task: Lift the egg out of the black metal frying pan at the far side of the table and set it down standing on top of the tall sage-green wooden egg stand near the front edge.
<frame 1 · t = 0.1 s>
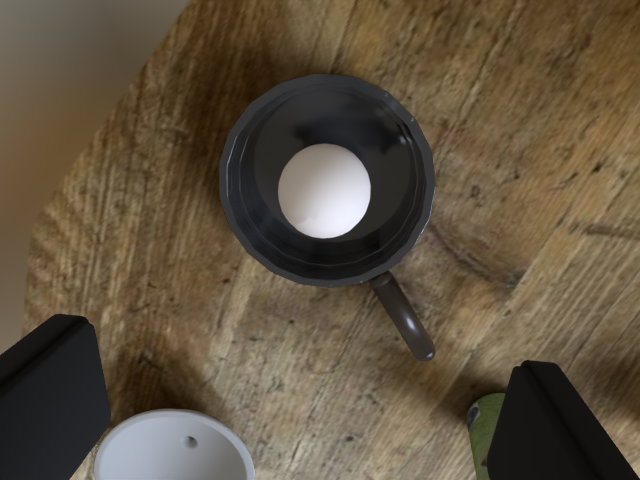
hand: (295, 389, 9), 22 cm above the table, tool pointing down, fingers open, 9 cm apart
pan: (328, 178, 29), on the table
egg: (328, 178, 29), resting on pan
dish: (194, 432, 41), on the table
beverage can: (491, 407, 36), on the table
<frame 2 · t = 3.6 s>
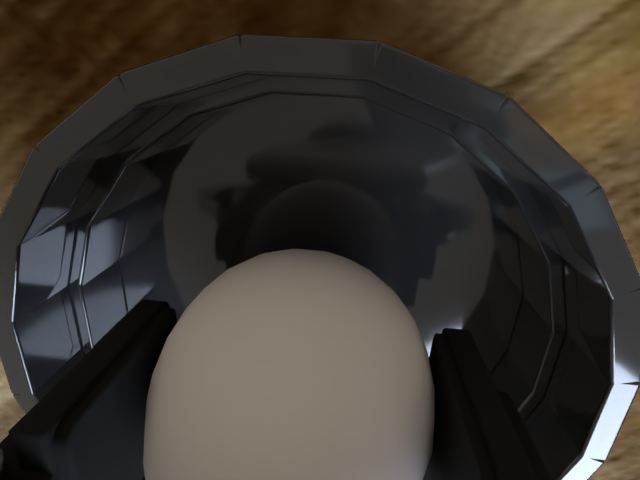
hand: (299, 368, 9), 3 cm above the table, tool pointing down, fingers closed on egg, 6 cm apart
pan: (314, 299, 12), on the table
egg: (313, 301, 12), resting on pan, touching gripper
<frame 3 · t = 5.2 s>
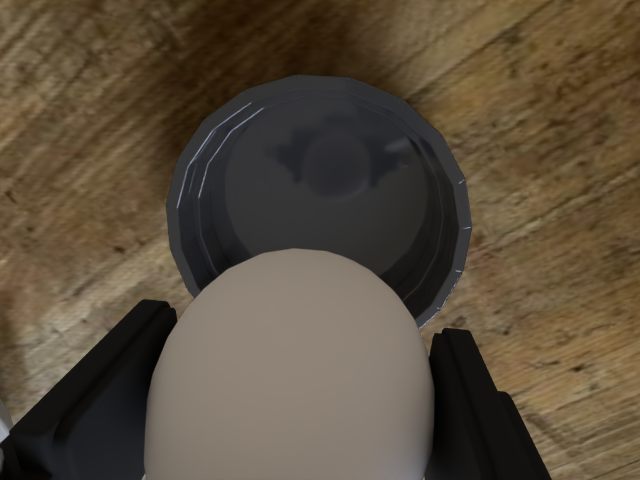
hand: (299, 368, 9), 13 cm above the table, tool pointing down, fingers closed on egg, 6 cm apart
pan: (320, 214, 22), on the table
egg: (313, 300, 12), point 10 cm above the table, touching gripper
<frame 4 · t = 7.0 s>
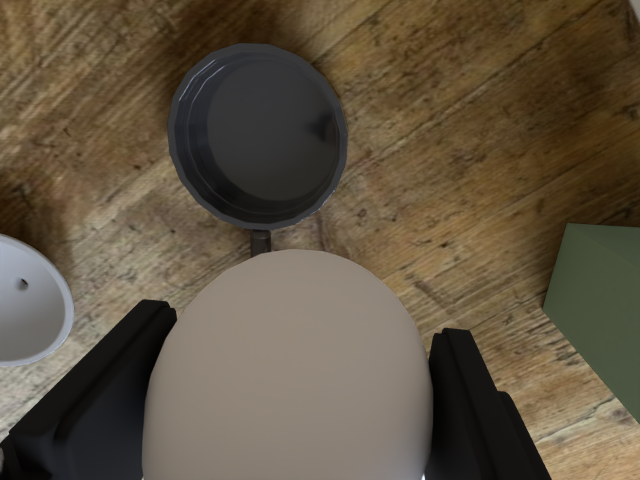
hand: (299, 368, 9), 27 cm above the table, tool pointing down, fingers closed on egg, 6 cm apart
pan: (266, 138, 34), on the table
egg: (312, 301, 12), point 24 cm above the table, touching gripper
stand: (603, 271, 36), on the table
dish: (29, 278, 42), on the table
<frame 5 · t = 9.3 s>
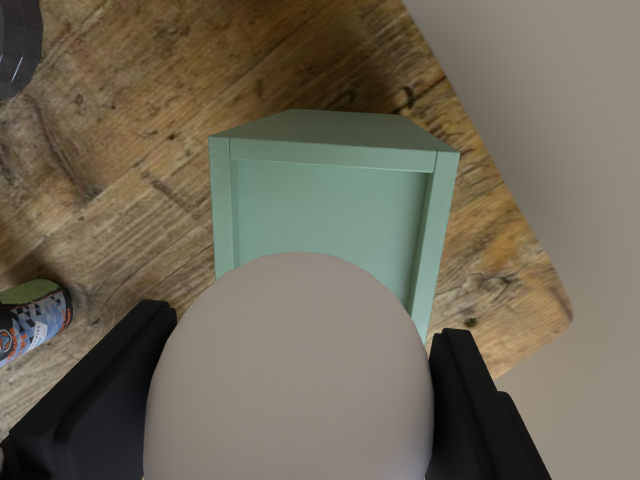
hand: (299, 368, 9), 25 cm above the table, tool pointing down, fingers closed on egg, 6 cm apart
egg: (313, 303, 12), point 22 cm above the table, touching gripper
stand: (342, 167, 33), on the table
beverage can: (51, 294, 41), on the table
when the fingers open (21 cm above the table, at t = 10.9 s): egg stays where it is, resting on stand.
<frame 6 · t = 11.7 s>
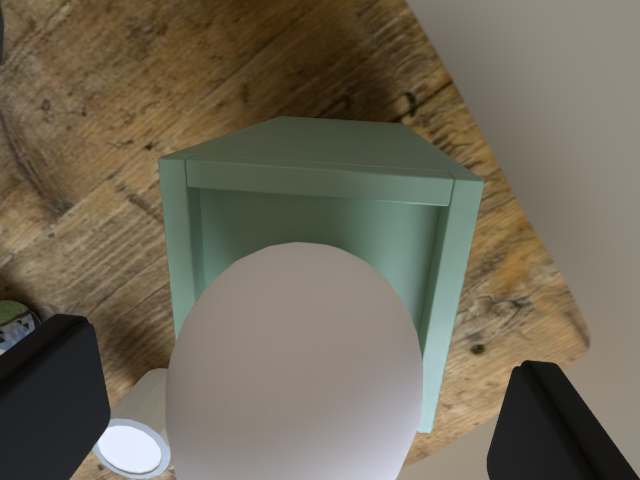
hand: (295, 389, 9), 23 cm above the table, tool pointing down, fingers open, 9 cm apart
egg: (314, 292, 13), point 18 cm above the table, touching stand
stand: (337, 180, 30), on the table
white cylinder: (168, 389, 39), on the table
beverage can: (20, 316, 38), on the table
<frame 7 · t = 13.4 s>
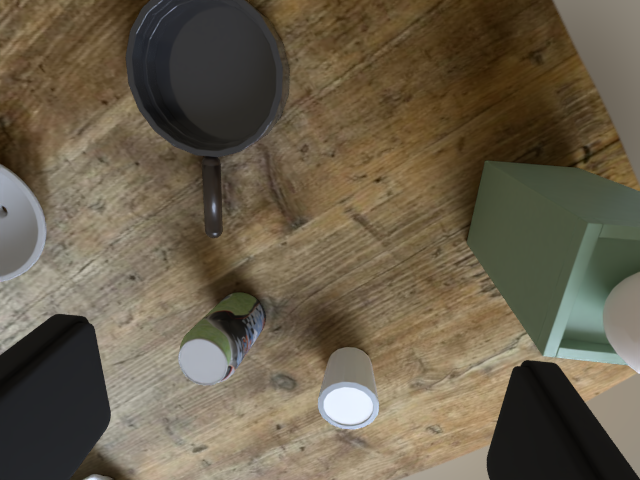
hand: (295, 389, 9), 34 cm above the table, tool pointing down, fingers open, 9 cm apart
pan: (218, 76, 38), on the table
egg: (630, 292, 24), point 18 cm above the table, touching stand
stand: (519, 207, 40), on the table
dish: (9, 207, 46), on the table
white cylinder: (349, 364, 50), on the table
beverage can: (241, 305, 48), on the table
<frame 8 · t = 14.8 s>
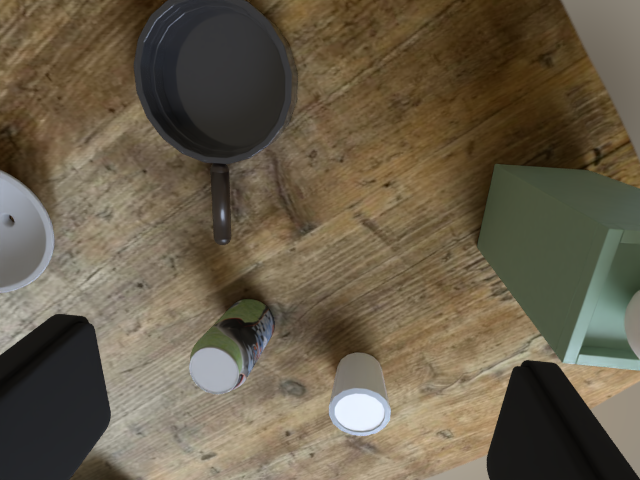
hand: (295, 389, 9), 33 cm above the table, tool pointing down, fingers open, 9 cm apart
pan: (226, 83, 38), on the table
stand: (529, 210, 40), on the table
dish: (16, 217, 46), on the table
white cylinder: (359, 369, 50), on the table
beverage can: (250, 311, 48), on the table
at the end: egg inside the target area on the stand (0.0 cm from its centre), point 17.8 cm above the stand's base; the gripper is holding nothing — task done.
